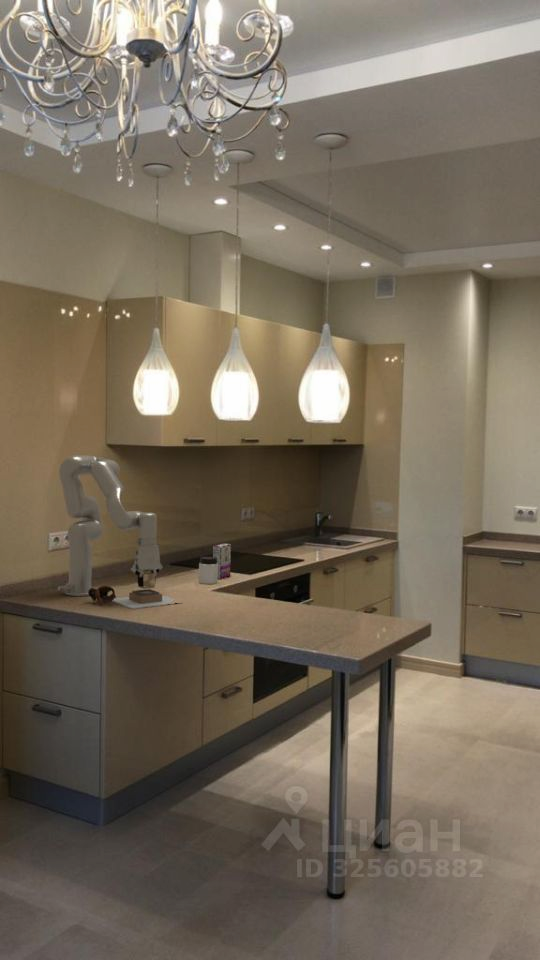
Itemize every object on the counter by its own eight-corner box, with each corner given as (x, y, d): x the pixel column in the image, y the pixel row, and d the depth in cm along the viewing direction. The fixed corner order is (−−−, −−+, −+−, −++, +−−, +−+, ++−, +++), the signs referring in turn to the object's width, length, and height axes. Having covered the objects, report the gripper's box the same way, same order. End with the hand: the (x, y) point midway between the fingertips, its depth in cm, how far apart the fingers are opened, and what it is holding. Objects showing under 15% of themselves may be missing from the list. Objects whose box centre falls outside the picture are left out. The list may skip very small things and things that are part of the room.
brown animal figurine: (117, 602, 352) (120, 587, 348) (109, 616, 344) (111, 601, 340) (90, 593, 353) (92, 578, 349) (81, 607, 345) (83, 592, 341)
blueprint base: (131, 609, 337) (132, 598, 337) (108, 600, 353) (108, 590, 353) (182, 603, 352) (183, 593, 352) (158, 595, 368) (158, 585, 368)
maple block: (144, 588, 349) (144, 574, 348) (138, 586, 353) (138, 572, 352) (154, 587, 352) (155, 573, 351) (148, 585, 356) (148, 571, 355)
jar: (211, 584, 398) (212, 559, 397) (196, 583, 401) (196, 558, 400) (219, 582, 406) (220, 557, 405) (204, 580, 409) (205, 556, 408)
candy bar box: (221, 575, 425) (222, 543, 424) (230, 576, 423) (231, 544, 422) (211, 578, 415) (212, 545, 414) (220, 579, 413) (221, 546, 412)
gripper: (133, 544, 343) (132, 588, 344) (169, 542, 354) (168, 585, 354) (124, 542, 349) (124, 585, 350) (160, 540, 359) (159, 582, 360)
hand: (146, 585), depth 352 cm, fingers closed on maple block, 5 cm apart
